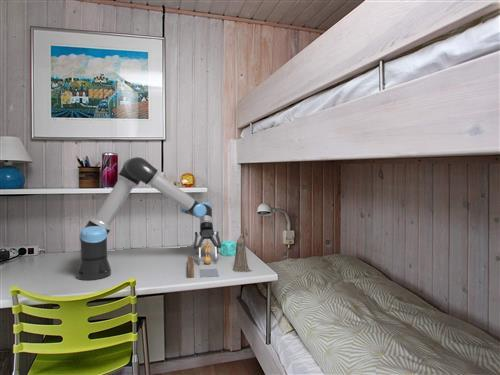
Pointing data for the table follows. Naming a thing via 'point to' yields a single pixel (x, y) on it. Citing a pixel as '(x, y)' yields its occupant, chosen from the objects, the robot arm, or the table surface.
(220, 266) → the table surface
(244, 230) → the wizard figurine
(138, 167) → the robot arm
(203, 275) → the mat
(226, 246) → the decorative dice
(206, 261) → the figurine
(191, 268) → the walnut rail
